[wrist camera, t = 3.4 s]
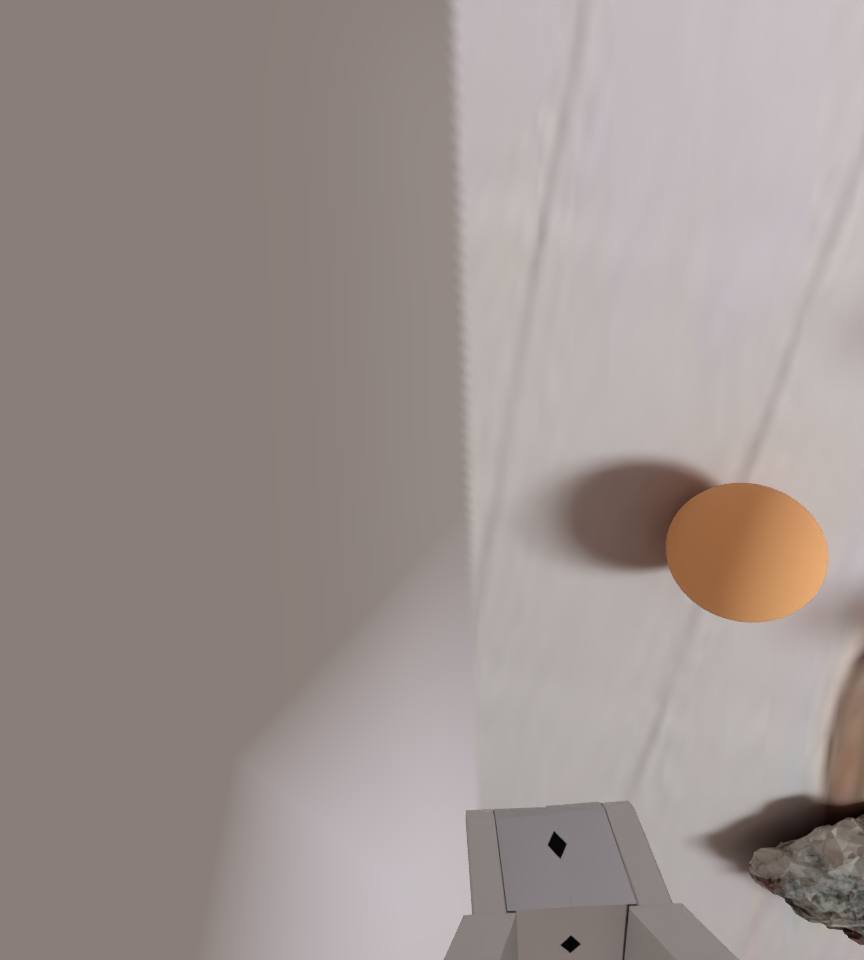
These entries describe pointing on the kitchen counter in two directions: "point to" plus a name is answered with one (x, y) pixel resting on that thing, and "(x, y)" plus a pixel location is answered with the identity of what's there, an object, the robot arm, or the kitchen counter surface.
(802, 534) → the ball
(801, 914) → the mineral rock
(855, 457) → the kitchen counter surface
